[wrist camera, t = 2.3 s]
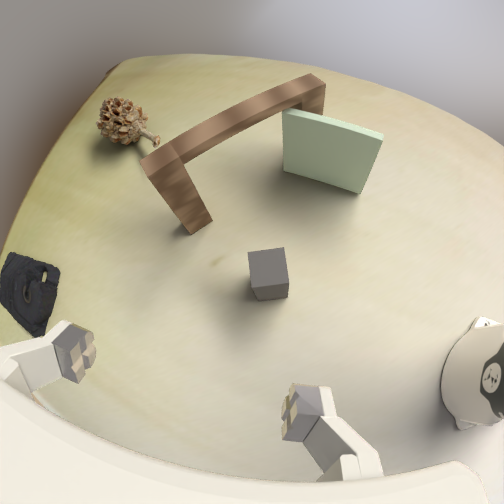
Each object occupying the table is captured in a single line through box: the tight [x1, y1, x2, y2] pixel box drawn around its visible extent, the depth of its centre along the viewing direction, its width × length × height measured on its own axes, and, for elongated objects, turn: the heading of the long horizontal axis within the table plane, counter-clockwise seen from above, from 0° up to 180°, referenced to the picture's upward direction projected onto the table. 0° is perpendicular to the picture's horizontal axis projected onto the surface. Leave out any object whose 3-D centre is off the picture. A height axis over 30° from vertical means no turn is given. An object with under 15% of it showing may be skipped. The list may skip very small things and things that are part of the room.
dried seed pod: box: [96, 96, 160, 148], centre depth 46 cm, size 22×10×10 cm, turn 56°
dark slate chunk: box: [0, 252, 60, 338], centre depth 41 cm, size 15×22×5 cm
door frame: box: [139, 73, 326, 235], centre depth 36 cm, size 25×3×16 cm, turn 123°
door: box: [282, 108, 384, 194], centre depth 37 cm, size 13×3×13 cm, turn 68°
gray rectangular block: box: [248, 247, 289, 301], centre depth 34 cm, size 4×4×9 cm
